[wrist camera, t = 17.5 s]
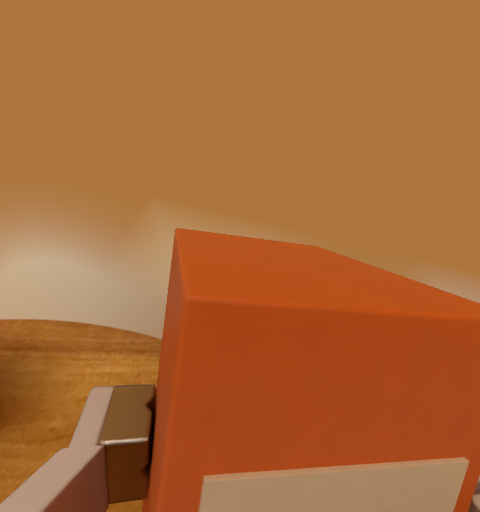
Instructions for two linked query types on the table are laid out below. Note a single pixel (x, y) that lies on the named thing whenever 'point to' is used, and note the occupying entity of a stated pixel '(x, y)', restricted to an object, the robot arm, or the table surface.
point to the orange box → (311, 385)
